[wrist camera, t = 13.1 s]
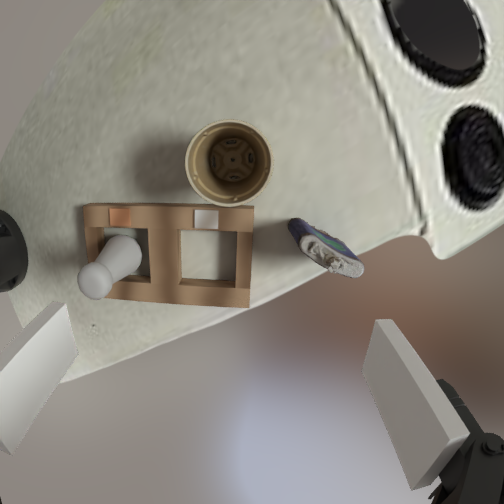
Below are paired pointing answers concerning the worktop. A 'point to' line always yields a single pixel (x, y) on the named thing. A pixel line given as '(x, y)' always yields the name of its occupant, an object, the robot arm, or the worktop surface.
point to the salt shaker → (110, 266)
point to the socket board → (174, 250)
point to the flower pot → (229, 163)
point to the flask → (325, 249)
